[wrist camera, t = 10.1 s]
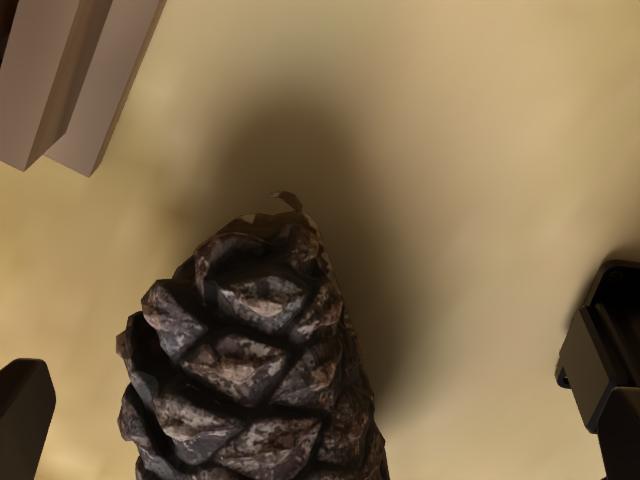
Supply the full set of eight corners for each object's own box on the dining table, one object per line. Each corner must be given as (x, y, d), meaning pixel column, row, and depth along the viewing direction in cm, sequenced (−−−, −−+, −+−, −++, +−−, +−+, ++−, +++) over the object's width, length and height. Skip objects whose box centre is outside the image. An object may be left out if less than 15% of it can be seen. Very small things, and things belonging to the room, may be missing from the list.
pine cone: (339, 156, 22) (316, 347, 14) (407, 471, 31) (418, 701, 23) (77, 198, 24) (-85, 391, 15) (214, 484, 33) (159, 702, 25)
